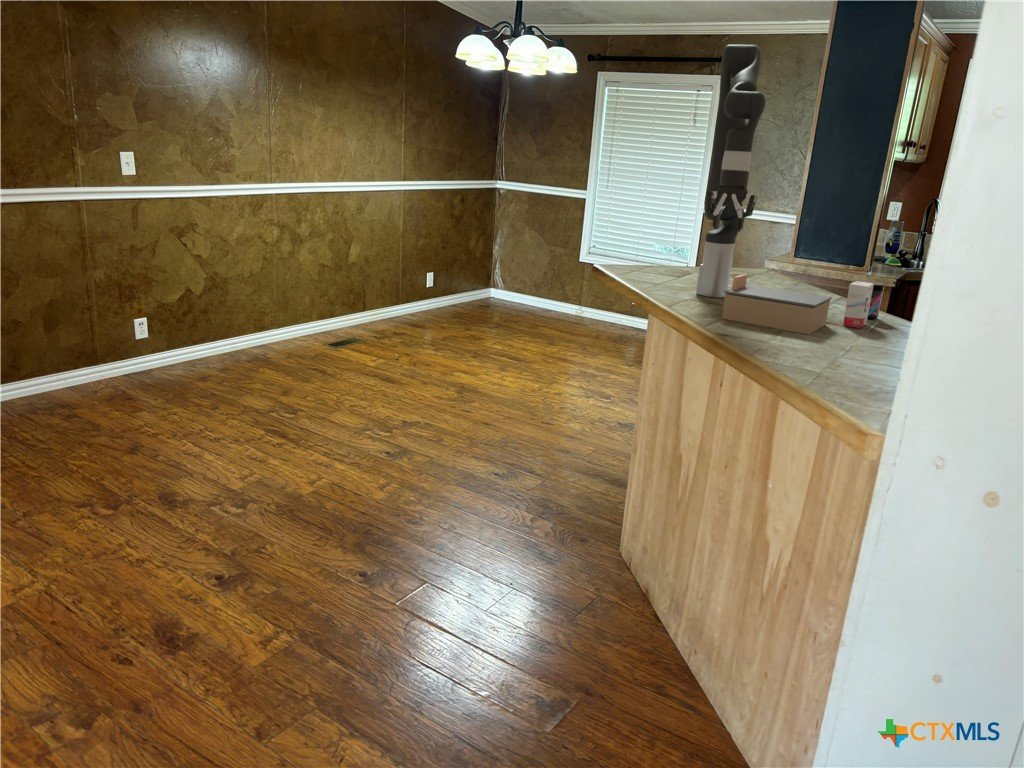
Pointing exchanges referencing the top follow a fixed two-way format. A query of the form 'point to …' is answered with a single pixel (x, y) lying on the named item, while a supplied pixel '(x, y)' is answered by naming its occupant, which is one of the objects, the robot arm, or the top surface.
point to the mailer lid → (774, 293)
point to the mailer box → (775, 313)
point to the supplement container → (875, 299)
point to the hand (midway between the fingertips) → (727, 230)
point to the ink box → (858, 304)
